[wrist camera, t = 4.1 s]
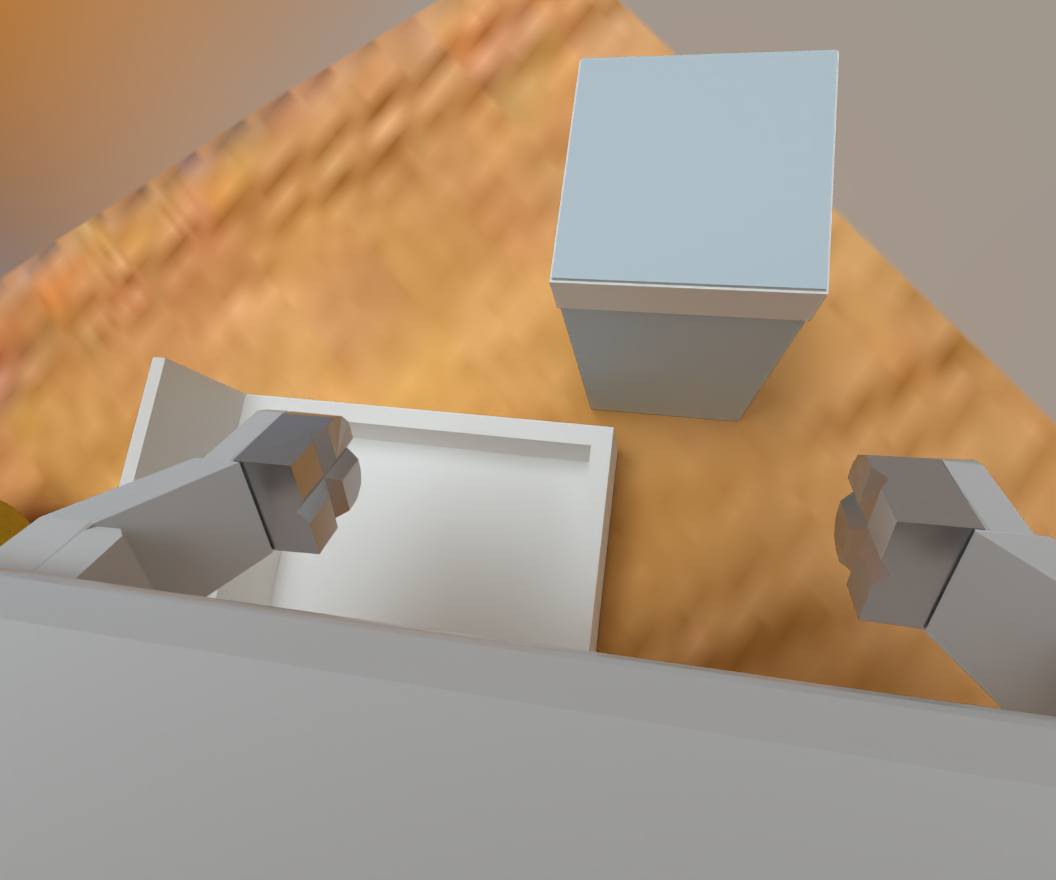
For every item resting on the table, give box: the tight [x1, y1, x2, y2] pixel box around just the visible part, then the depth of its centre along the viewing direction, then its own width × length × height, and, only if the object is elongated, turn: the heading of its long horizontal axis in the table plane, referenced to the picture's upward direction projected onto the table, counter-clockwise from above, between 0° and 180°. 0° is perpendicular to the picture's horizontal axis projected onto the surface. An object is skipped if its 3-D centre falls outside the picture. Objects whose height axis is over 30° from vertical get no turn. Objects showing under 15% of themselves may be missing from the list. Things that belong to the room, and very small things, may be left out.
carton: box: [549, 50, 839, 422], centre depth 16 cm, size 5×5×10 cm
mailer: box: [119, 357, 618, 652], centre depth 18 cm, size 11×13×7 cm
